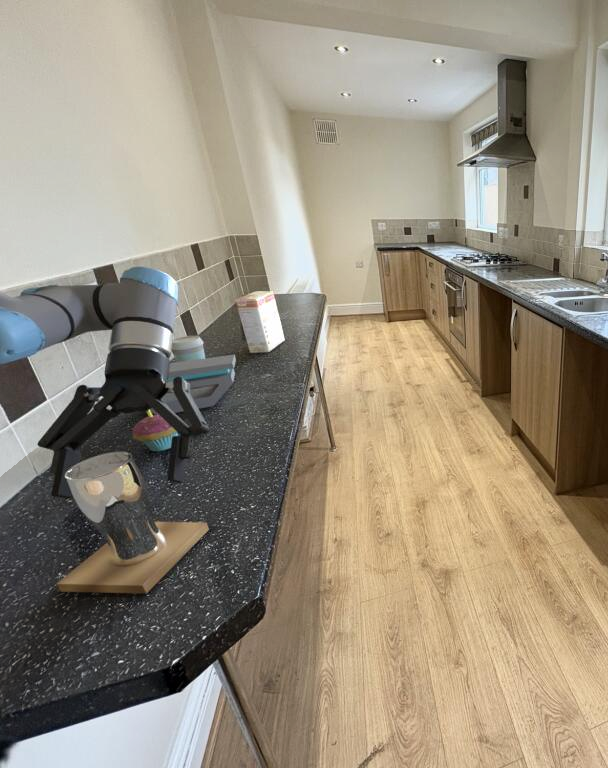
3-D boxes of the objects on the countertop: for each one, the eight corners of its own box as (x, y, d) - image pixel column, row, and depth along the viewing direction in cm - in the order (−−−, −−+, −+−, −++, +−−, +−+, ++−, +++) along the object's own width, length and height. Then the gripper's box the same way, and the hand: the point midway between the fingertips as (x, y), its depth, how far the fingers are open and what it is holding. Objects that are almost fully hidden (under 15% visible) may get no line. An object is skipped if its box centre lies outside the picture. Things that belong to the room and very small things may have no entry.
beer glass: (166, 525, 65) (131, 445, 59) (172, 549, 60) (135, 464, 54) (107, 549, 60) (62, 464, 55) (109, 577, 56) (61, 487, 50)
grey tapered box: (244, 390, 117) (234, 354, 113) (243, 400, 111) (232, 363, 107) (133, 409, 106) (116, 370, 102) (124, 422, 100) (106, 381, 96)
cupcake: (130, 451, 88) (108, 401, 83) (173, 432, 95) (155, 385, 90) (156, 459, 85) (135, 407, 80) (198, 439, 92) (181, 391, 87)
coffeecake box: (266, 340, 161) (254, 291, 153) (285, 340, 162) (274, 290, 154) (248, 353, 148) (234, 299, 140) (269, 352, 148) (256, 298, 141)
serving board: (60, 591, 56) (55, 583, 55) (137, 528, 67) (133, 521, 66) (146, 593, 55) (142, 585, 55) (209, 529, 66) (206, 522, 66)
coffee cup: (217, 369, 132) (205, 334, 127) (208, 379, 125) (196, 341, 120) (185, 373, 130) (173, 336, 125) (175, 383, 122) (161, 344, 118)
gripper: (237, 359, 72) (230, 479, 65) (64, 373, 66) (35, 506, 59) (217, 339, 65) (207, 470, 58) (22, 352, 59) (-17, 500, 52)
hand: (120, 489), depth 58 cm, fingers open, 13 cm apart
